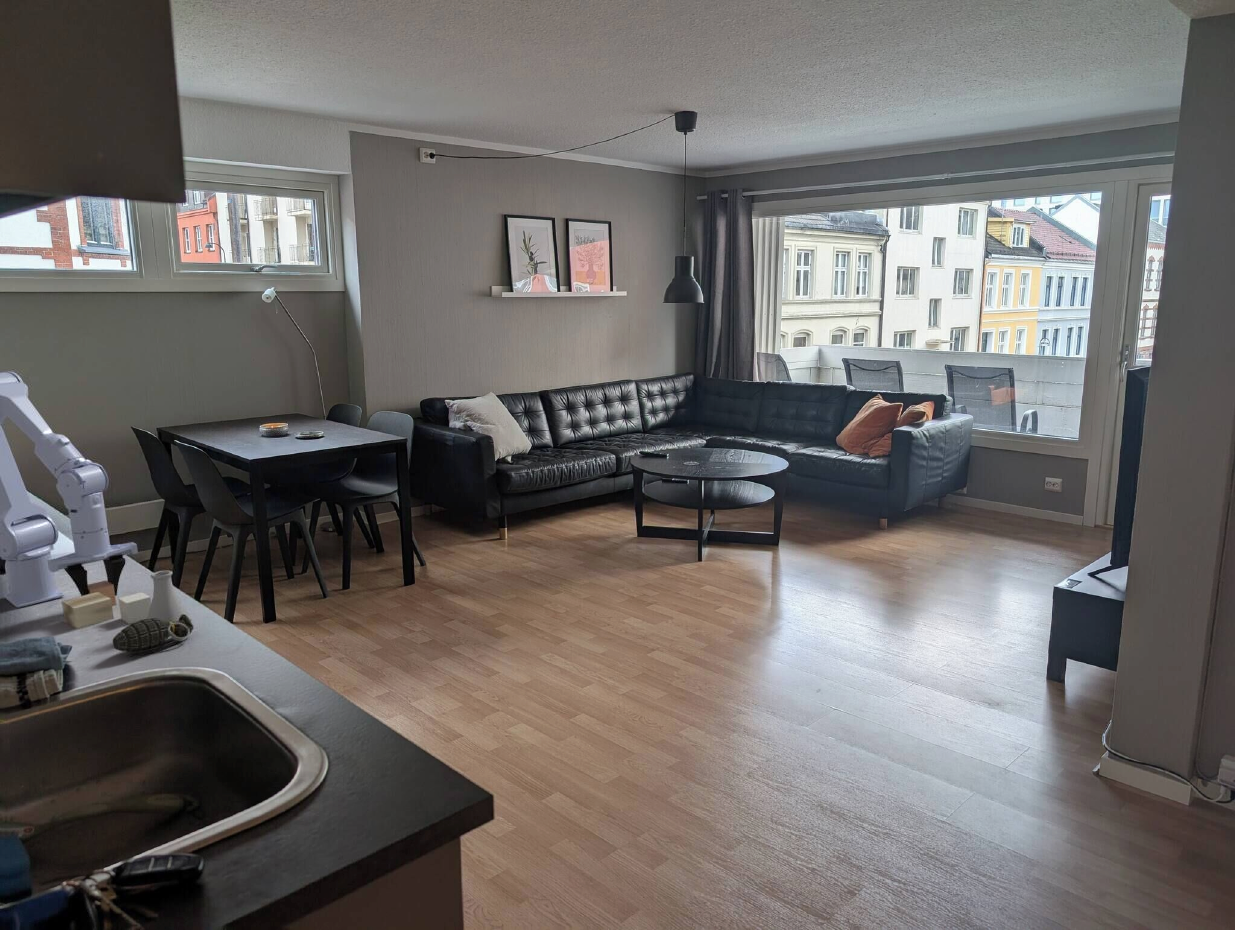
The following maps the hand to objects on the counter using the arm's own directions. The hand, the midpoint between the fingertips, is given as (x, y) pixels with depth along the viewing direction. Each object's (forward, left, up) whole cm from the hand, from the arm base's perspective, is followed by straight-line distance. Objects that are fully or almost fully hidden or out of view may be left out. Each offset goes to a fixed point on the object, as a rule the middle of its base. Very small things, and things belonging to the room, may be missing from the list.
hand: (100, 598), depth 162 cm
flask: (+21, +4, -2) cm, 22 cm away
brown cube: (0, 0, -1) cm, 1 cm away
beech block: (+6, -4, -2) cm, 8 cm away
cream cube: (+12, +2, -2) cm, 13 cm away
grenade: (+29, -1, -2) cm, 30 cm away
